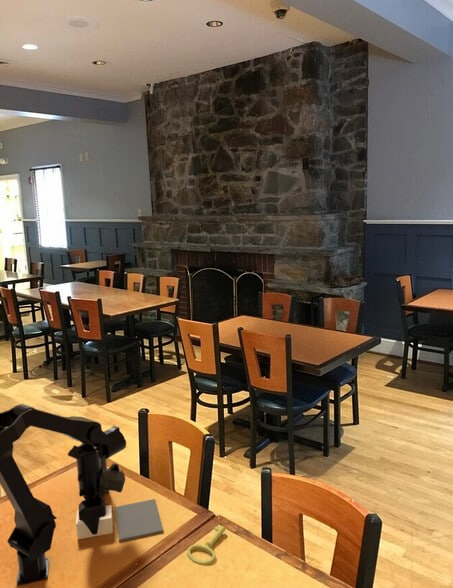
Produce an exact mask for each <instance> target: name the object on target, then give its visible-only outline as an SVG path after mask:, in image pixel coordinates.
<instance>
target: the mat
mask: <svg viewBox="0 0 453 588" xmlns="http://www.w3.org/2000/svg"><path fill="white" fill-rule="evenodd" d="M114 510H115V511H114V512H115V519H116V527H117V534H118V542H119V543H120V542H125V541H128V540H133V539H138V538H139V539H140V538H142V537H143V538H144V537H147V536H151V535H152V536H153V535H156V534H161V533H164V528H163V524H162V521H161V516H160V513H159V509H158V505H157V501H156V499H155V498H152V499H148V500H143V501H139V502H133V503H128V504H122V505H118V506H114Z"/></svg>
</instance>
